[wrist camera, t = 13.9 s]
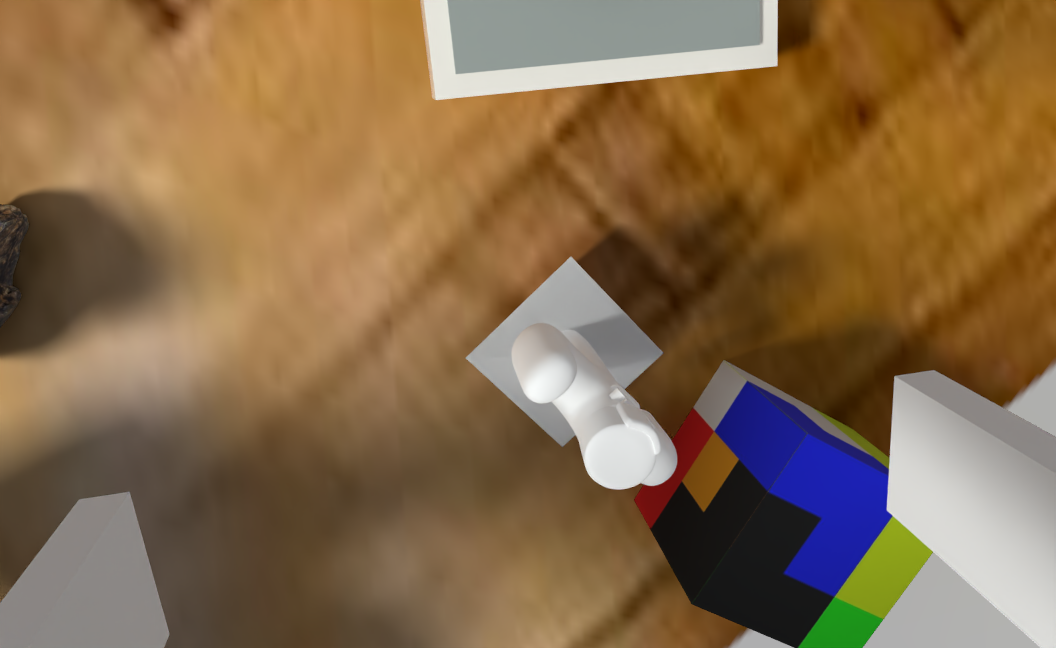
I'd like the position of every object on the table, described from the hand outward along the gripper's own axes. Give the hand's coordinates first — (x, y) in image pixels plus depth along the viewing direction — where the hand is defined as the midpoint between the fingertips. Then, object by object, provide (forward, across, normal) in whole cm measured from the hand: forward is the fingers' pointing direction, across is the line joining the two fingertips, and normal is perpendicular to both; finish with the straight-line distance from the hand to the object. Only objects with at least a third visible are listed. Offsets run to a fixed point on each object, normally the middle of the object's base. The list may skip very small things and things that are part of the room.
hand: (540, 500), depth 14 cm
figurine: (+29, +5, -7) cm, 30 cm away
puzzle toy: (+29, +16, -17) cm, 37 cm away
